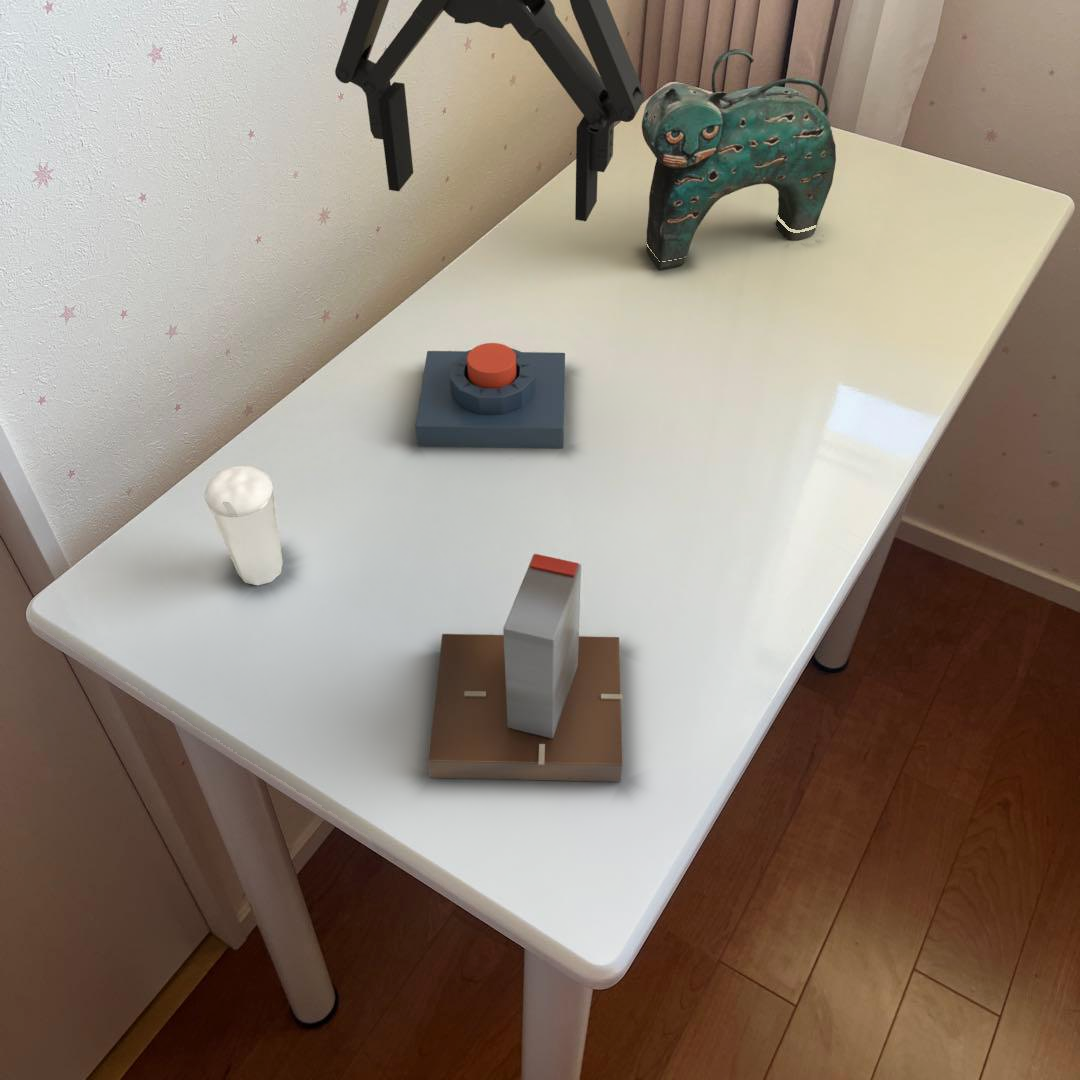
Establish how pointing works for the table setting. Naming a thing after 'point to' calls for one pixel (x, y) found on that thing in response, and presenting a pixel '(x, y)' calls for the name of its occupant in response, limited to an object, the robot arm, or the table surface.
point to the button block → (492, 404)
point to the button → (491, 365)
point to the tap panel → (504, 753)
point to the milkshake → (247, 521)
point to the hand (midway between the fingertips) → (492, 196)
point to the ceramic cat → (734, 157)
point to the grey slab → (542, 645)
